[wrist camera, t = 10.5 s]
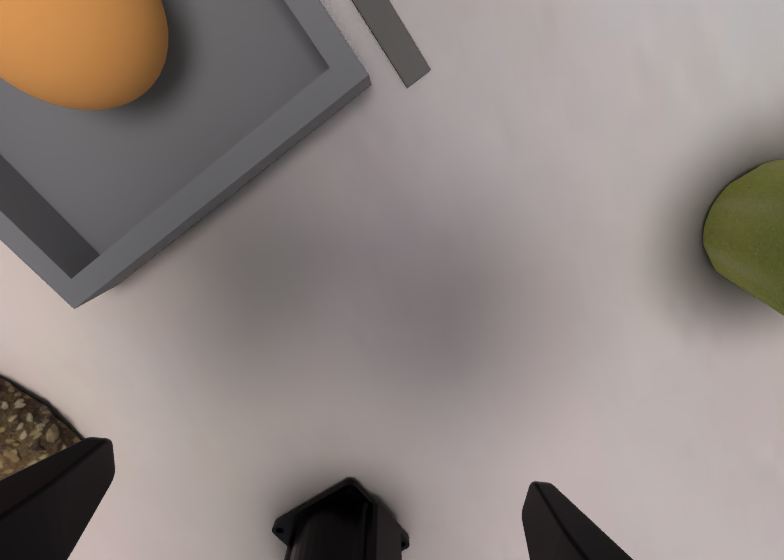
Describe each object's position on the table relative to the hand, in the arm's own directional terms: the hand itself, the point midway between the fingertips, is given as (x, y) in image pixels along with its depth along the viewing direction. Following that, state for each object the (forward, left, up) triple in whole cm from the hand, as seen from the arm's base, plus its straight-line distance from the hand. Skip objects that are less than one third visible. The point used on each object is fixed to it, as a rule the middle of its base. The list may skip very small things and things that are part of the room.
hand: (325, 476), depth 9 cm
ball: (-3, +13, -11) cm, 18 cm away
